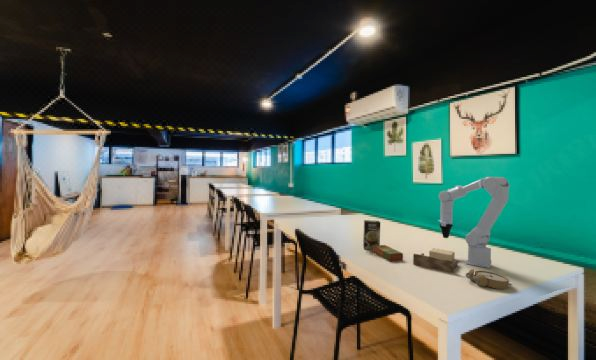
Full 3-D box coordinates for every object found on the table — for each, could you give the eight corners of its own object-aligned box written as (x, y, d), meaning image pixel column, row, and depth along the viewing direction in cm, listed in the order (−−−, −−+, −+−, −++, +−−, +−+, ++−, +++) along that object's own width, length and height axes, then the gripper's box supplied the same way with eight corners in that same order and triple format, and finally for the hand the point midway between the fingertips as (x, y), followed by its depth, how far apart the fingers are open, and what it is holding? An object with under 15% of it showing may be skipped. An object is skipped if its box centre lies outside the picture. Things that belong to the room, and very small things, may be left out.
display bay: (458, 265, 129) (458, 254, 128) (453, 272, 118) (453, 261, 118) (421, 257, 139) (421, 248, 139) (413, 264, 129) (413, 253, 129)
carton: (385, 252, 150) (385, 244, 150) (403, 261, 135) (403, 252, 135) (372, 252, 148) (372, 245, 148) (388, 262, 133) (389, 253, 133)
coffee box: (363, 249, 154) (364, 221, 154) (362, 246, 161) (363, 219, 160) (380, 250, 153) (380, 222, 152) (378, 247, 159) (379, 220, 159)
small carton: (454, 259, 139) (454, 251, 138) (450, 263, 133) (450, 255, 133) (433, 255, 145) (433, 248, 145) (429, 258, 139) (429, 251, 139)
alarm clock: (517, 283, 101) (475, 274, 102) (514, 295, 101) (473, 286, 102) (498, 272, 112) (461, 264, 113) (495, 283, 112) (458, 275, 114)
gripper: (441, 210, 154) (440, 234, 154) (435, 213, 142) (434, 238, 143) (455, 212, 149) (454, 236, 149) (450, 214, 138) (449, 240, 138)
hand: (445, 237), depth 146 cm, fingers closed
